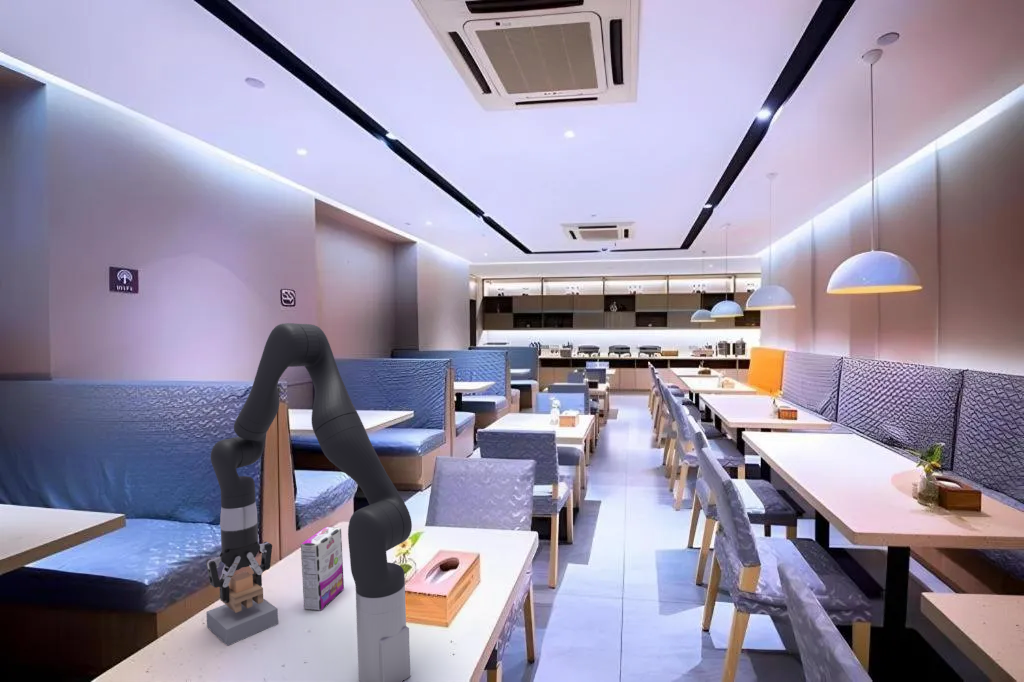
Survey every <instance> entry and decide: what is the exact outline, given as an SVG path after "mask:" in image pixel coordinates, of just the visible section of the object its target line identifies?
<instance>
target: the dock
mask: <svg viewBox="0 0 1024 682" xmlns="http://www.w3.org/2000/svg"><path fill="white" fill-rule="evenodd" d="M252 601H253V600H252ZM241 610H242V611H239V612H237V613H235V612H234V611H233V610H232V609H230V608H229V607H228V606H227V605H226V604H223V605H220V606H218V607H215V608H213V609H209V610H207V611H206V627H207V628H208V629H209V628H210V629H211V630H210V629H209V630H210V631H211V632H212V633H213V634H214V635H215V636H216V637H217V638H218V639H219V640H220V641H221V642H223V643H224V645H226V646H230V645H233V644H235V643H237V642H239V641H238V640H240V641H241V639H242V640H244V639H246V638H249V637H250V636H253V635H255V633H256V634H258V633H260V632H262V631H265V630H266V629H269V628H271V626H272V627H274V626H276V625H279V613H278V611H279V609H278V607H276V606H275V605H273V604H272V603H270V602H269V601H268V600H266V599H265V598H263V602H262V603H260V604H257V603H256V602H255V601H253V606H252V607H249V608H246V607H245V606H243V605H242V604H241ZM264 629H265V630H264ZM257 632H258V633H257ZM248 636H249V637H248ZM243 638H244V639H243ZM236 641H237V642H236ZM234 642H235V643H234ZM232 643H233V644H232Z"/></svg>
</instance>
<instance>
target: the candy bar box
mask: <svg viewBox="0 0 1024 682" xmlns="http://www.w3.org/2000/svg"><path fill="white" fill-rule="evenodd" d="M300 553H301V554H300V555H301V573H302V576H301V577H302V594H303V595H302V596H303V598H302V599H303V609H304V610H305V611H323V609H325V608H326V607H327V606H326V605H329V604H330V603H331V602H333V600H334V599H335V598H336V597H337V596H339V594H340V593H341V592H342V591H343V590H344V589H345V585H344V583H345V581H344V580H345V579H344V567H343V566H344V565H343V564H344V562H343V538H342V527H339V526H338V527H335V526H331V527H330V526H325V527H324V528H322V529H321V530H319V531H317V532H316V533H315V534H313V535H312V536H310V537H309V538H307V539H305V540H304V541H303V542H301V543H300Z"/></svg>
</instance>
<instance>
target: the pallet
mask: <svg viewBox="0 0 1024 682" xmlns="http://www.w3.org/2000/svg"><path fill="white" fill-rule="evenodd" d="M228 586H229V584H228ZM219 599H220V598H219ZM263 599H264V588H263V587H262V586H259V585H258V584H256V583H255V582H253V587H251V588H249V589H246V590H243V591H240V592H238V593H236V592H234V591H233V590H232V589H231V588H229V602H228V603H225V602H223V601H222V600H221V599H220V601H221V603H223V605H225V604H226V605H227V606H228V607H229V608H230V609H232V610H233V611H234V612H235V613H237V612H239V611H242V610H241V604H242V605H243V606H245V607H246V608H249V607H252V606H253V601H255V602H256V603H257V604H260V603H262V602H263ZM252 600H253V601H252Z"/></svg>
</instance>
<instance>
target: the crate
mask: <svg viewBox="0 0 1024 682" xmlns="http://www.w3.org/2000/svg"><path fill="white" fill-rule="evenodd" d="M251 587H253V576H252V574H251V573H249V572H248V571H246V570H244V571H240V572H239V573H236V574H235V573H234V575H233V576H232V577H231V579H230V582H229V588H231V589H232V590H233V591H234V592H236V593H238V592H240V591H243V590H246V589H249V588H251Z"/></svg>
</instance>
